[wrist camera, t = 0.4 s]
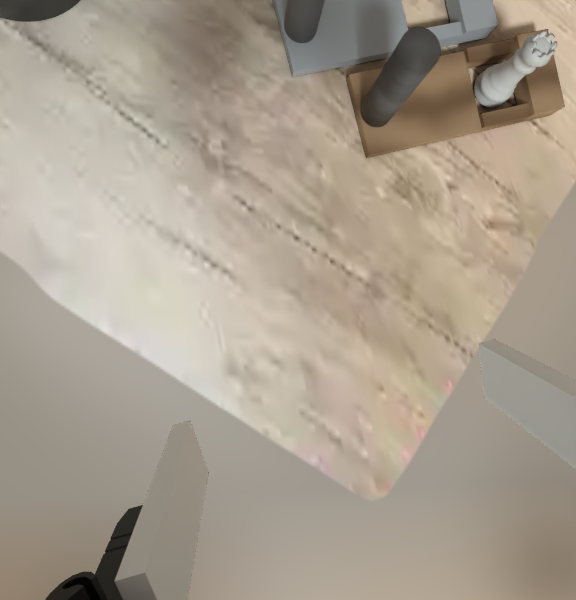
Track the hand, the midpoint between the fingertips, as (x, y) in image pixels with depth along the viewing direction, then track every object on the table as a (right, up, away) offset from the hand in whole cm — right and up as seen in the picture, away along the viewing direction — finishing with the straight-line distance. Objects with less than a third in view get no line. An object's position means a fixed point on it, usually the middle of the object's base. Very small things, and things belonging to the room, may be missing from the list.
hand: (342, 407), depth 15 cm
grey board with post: (+8, +37, +25) cm, 45 cm away
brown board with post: (+17, +28, +26) cm, 42 cm away
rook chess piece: (+22, +30, +27) cm, 45 cm away
